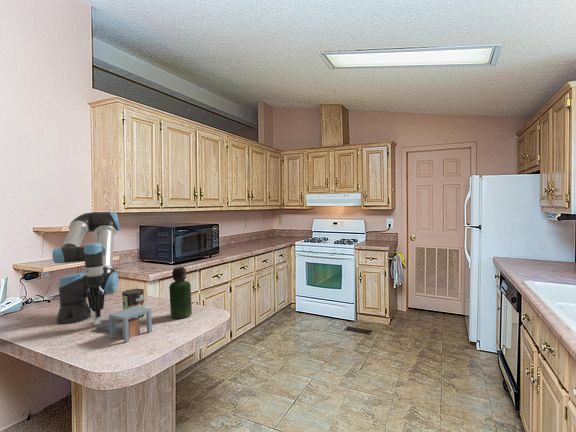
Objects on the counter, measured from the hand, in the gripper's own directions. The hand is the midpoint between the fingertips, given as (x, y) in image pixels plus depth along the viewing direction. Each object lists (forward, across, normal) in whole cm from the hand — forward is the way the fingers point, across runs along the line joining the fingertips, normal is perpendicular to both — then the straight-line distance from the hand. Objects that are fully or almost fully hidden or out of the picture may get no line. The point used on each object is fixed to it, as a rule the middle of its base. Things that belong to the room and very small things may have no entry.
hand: (97, 323), depth 157 cm
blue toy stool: (+2, +25, 0) cm, 25 cm away
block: (+2, +25, 0) cm, 25 cm away
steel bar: (+2, +13, 0) cm, 13 cm away
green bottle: (+2, +27, +28) cm, 39 cm away
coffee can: (+2, +6, +16) cm, 17 cm away
